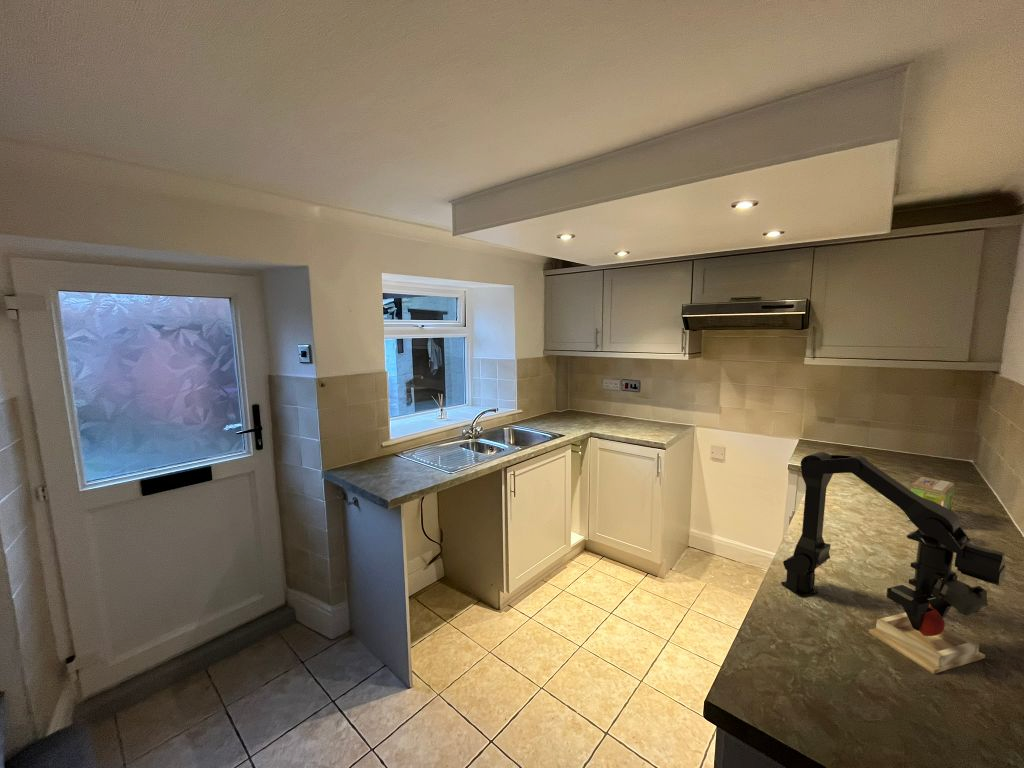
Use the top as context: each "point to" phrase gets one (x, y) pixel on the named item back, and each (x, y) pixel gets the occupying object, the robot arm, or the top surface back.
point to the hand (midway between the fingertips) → (925, 627)
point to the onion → (932, 623)
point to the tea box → (934, 490)
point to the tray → (926, 644)
